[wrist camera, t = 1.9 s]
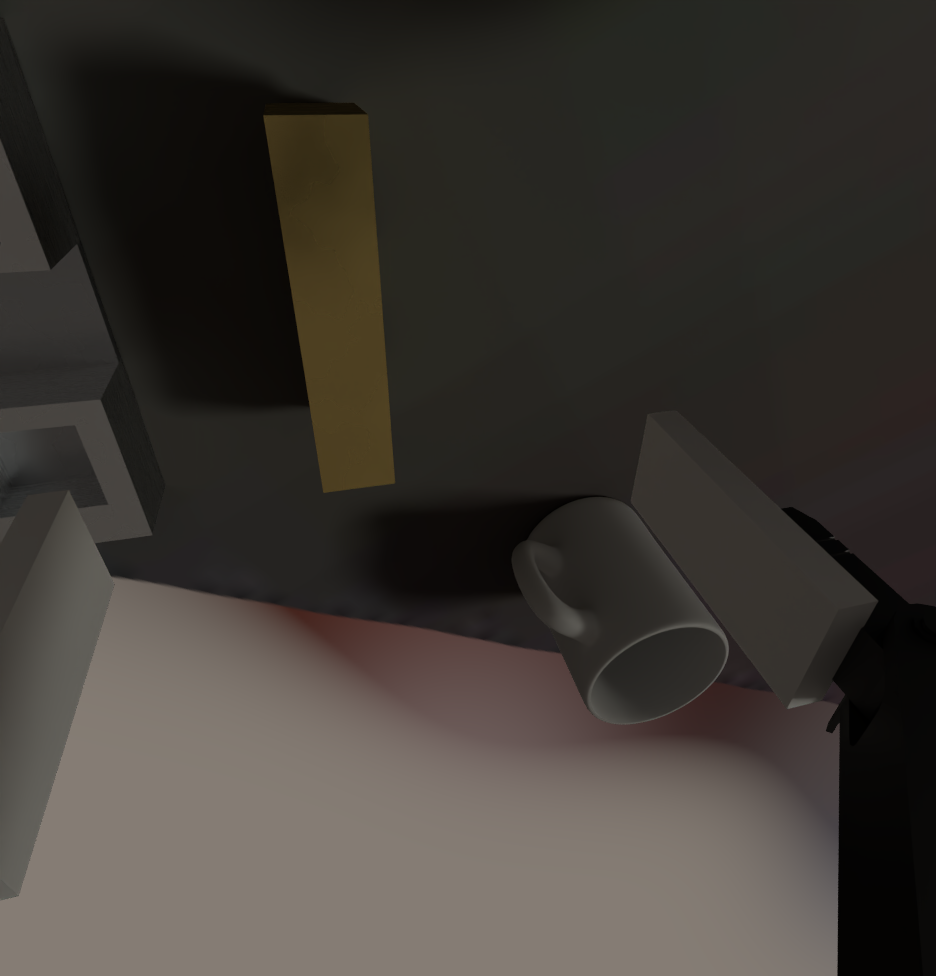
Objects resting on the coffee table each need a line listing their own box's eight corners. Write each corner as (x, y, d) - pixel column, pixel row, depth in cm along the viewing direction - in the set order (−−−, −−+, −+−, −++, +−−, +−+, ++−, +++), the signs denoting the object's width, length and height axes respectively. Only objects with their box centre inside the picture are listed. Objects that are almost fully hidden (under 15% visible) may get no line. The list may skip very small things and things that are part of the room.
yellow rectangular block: (267, 98, 23) (263, 115, 18) (347, 97, 24) (367, 114, 18) (315, 412, 31) (323, 492, 25) (375, 406, 32) (395, 483, 26)
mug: (662, 519, 42) (761, 643, 33) (585, 603, 45) (656, 736, 37) (531, 455, 36) (611, 586, 27) (453, 557, 39) (502, 702, 31)
